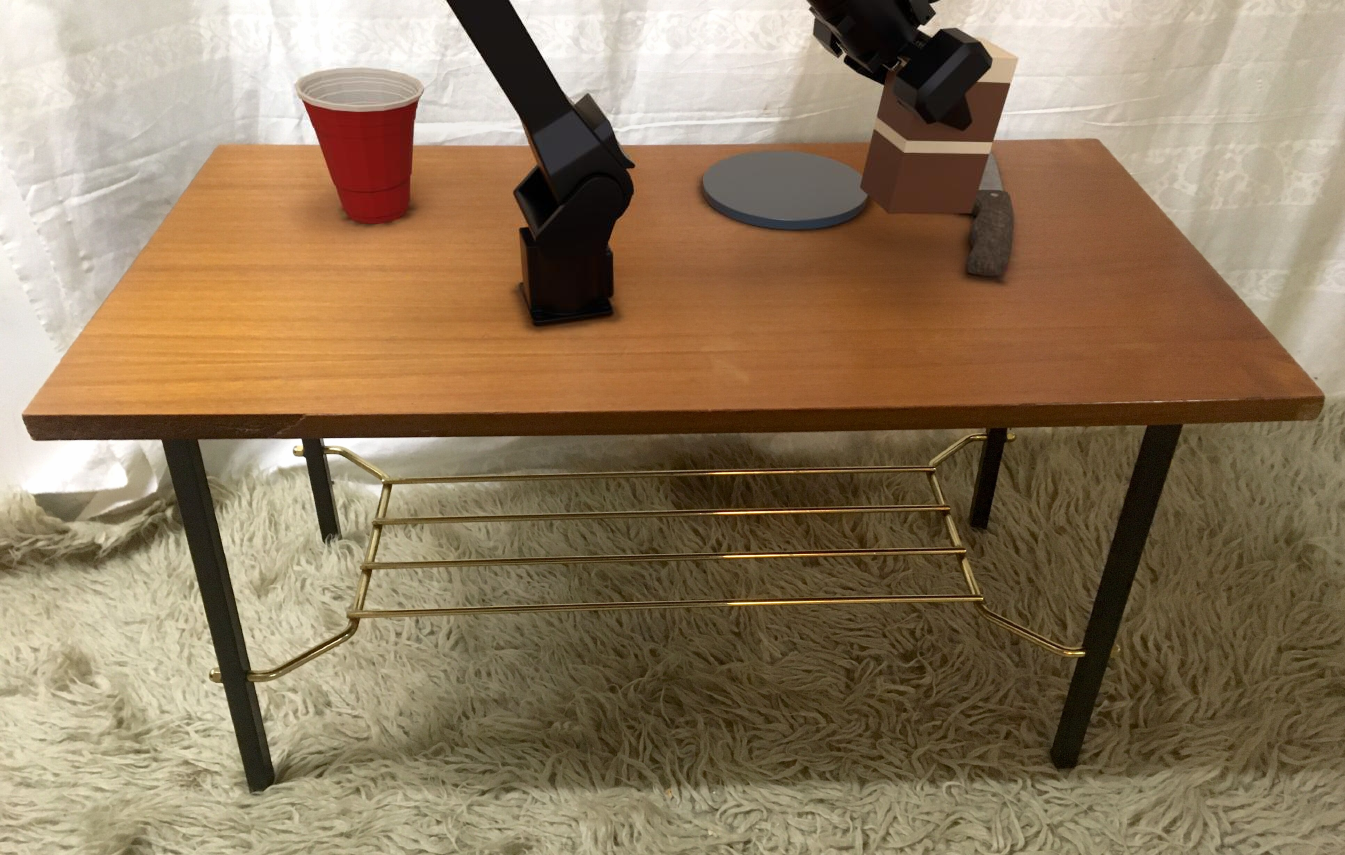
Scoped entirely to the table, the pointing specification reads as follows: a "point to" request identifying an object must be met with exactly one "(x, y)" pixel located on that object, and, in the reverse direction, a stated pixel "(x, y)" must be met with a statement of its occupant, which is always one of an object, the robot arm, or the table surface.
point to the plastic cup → (365, 136)
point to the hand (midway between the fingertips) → (948, 113)
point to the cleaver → (991, 225)
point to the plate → (784, 189)
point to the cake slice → (935, 147)
